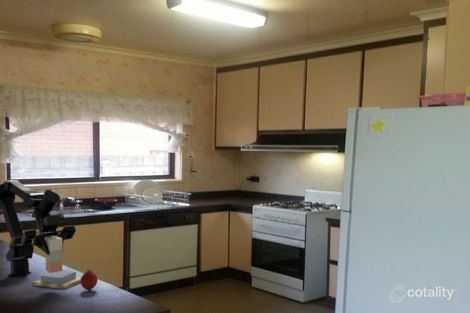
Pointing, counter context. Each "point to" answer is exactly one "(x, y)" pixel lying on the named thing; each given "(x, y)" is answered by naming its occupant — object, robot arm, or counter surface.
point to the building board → (62, 286)
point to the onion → (89, 280)
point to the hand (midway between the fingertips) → (55, 253)
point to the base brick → (58, 277)
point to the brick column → (54, 254)
